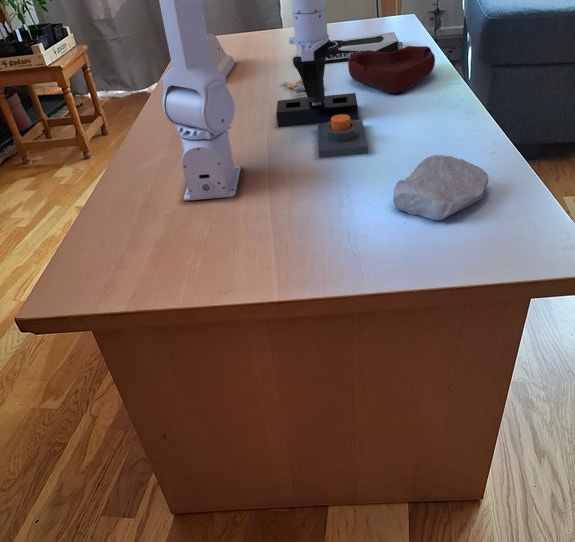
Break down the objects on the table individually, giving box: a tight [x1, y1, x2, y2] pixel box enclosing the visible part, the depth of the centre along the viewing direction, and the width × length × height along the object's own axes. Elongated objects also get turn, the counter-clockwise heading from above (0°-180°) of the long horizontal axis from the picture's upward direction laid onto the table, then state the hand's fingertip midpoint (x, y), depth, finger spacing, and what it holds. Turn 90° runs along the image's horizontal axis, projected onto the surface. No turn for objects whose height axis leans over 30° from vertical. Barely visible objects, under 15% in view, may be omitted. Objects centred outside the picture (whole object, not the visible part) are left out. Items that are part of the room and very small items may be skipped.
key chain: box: [283, 78, 307, 97], centre depth 119 cm, size 13×7×1 cm, turn 9°
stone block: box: [392, 154, 489, 221], centre depth 76 cm, size 12×5×10 cm
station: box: [317, 119, 369, 159], centre depth 94 cm, size 11×8×3 cm
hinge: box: [207, 33, 236, 78], centre depth 131 cm, size 17×5×10 cm, turn 172°
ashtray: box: [347, 45, 436, 95], centre depth 114 cm, size 18×16×5 cm
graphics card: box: [295, 31, 403, 64], centre depth 133 cm, size 10×3×25 cm
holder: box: [275, 92, 359, 128], centre depth 104 cm, size 6×15×3 cm, turn 88°
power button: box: [331, 114, 350, 131], centre depth 93 cm, size 3×3×2 cm
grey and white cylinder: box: [309, 72, 326, 106], centre depth 102 cm, size 3×3×8 cm
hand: (315, 89), depth 102 cm, fingers open, 7 cm apart
